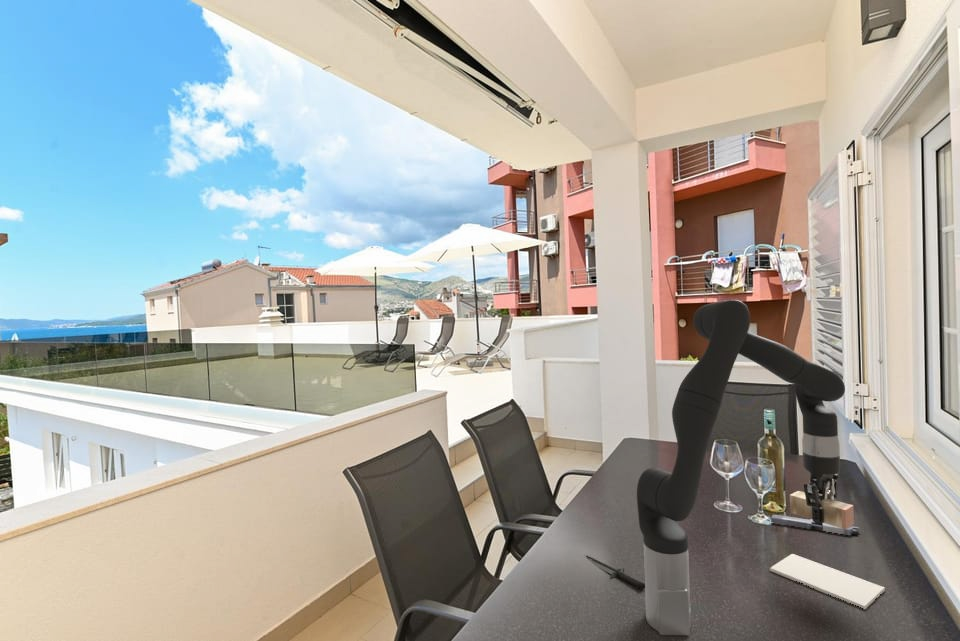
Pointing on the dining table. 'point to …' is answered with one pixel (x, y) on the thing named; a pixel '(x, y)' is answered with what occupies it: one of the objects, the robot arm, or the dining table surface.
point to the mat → (828, 580)
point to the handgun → (812, 525)
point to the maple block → (833, 510)
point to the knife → (617, 573)
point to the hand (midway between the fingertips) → (822, 519)
